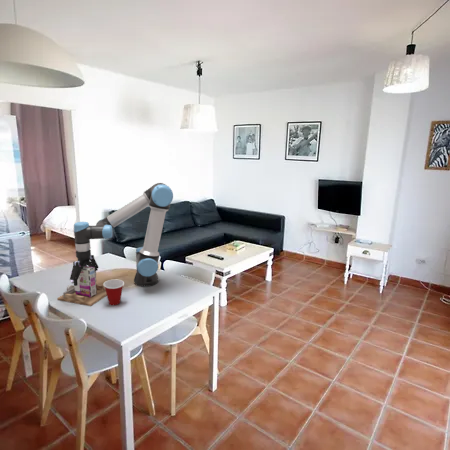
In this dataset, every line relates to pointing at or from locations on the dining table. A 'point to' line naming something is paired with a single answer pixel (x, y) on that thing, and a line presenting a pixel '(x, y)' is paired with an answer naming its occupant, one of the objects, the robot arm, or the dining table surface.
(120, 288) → the plastic cup
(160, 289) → the dining table surface
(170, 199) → the robot arm
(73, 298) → the board
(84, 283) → the candy bar box
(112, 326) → the dining table surface
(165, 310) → the dining table surface
